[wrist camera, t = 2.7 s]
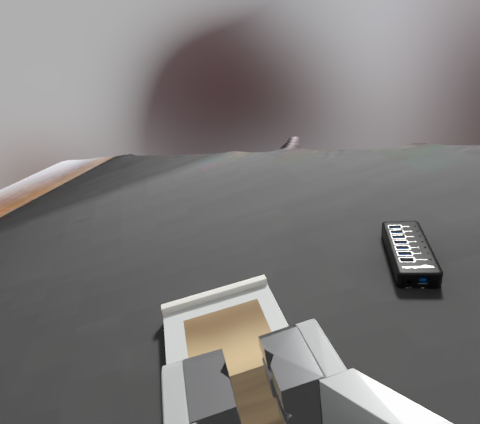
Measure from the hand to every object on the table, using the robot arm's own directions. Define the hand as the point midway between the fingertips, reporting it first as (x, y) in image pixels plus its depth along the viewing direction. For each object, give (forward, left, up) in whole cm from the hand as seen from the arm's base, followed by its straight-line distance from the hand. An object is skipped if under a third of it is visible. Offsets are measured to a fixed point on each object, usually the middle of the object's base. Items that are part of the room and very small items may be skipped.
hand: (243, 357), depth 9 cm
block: (-8, -4, -18) cm, 20 cm away
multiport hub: (-31, +10, -21) cm, 39 cm away
